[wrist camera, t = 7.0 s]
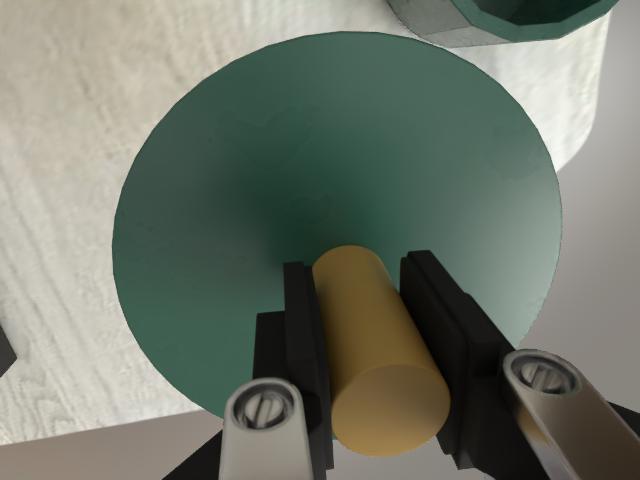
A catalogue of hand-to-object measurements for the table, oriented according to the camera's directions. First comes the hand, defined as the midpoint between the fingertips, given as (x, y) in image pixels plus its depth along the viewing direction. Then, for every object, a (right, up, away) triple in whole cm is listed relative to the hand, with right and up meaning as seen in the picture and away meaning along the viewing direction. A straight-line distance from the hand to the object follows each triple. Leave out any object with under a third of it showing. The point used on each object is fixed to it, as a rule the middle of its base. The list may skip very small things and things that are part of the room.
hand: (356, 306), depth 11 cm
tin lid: (0, +1, +2) cm, 2 cm away
